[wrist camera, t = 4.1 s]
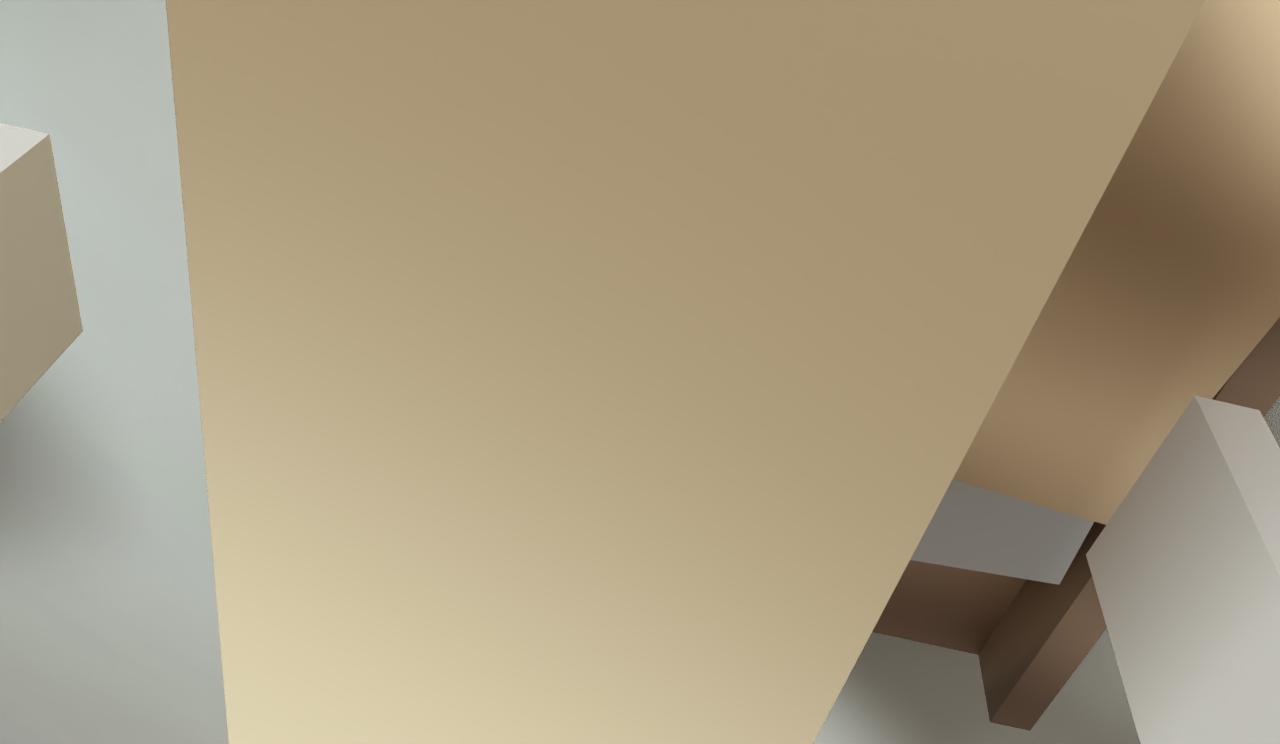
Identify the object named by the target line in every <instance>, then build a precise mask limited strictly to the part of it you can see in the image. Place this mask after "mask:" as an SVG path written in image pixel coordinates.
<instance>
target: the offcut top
mask: <svg viewBox="0 0 1280 744" xmlns="http://www.w3.org/2000/svg"><path fill="white" fill-rule="evenodd" d="M1279 317H1280V0H1205V2H1204V4H1203V6H1202V8H1201V9H1200V11H1199V13H1198V15H1197V17H1196V19H1195V21H1194V23H1193V25H1192V26H1191V28H1190V30H1189V32H1188V34H1187V36H1186V38H1185V40H1184V42H1183V44H1182V45H1181V47H1180V49H1179V51H1178V53H1177V55H1176V57H1175V59H1174V61H1173V63H1172V64H1171V66H1170V68H1169V70H1168V72H1167V74H1166V76H1165V78H1164V80H1163V81H1162V83H1161V85H1160V87H1159V89H1158V91H1157V93H1156V95H1155V97H1154V99H1153V100H1152V102H1151V104H1150V106H1149V108H1148V110H1147V112H1146V114H1145V116H1144V117H1143V119H1142V121H1141V123H1140V125H1139V127H1138V129H1137V131H1136V133H1135V135H1134V136H1133V138H1132V140H1131V142H1130V144H1129V146H1128V148H1127V150H1126V152H1125V153H1124V155H1123V157H1122V159H1121V161H1120V163H1119V165H1118V167H1117V169H1116V171H1115V172H1114V174H1113V176H1112V178H1111V180H1110V182H1109V184H1108V186H1107V188H1106V189H1105V191H1104V193H1103V195H1102V197H1101V199H1100V201H1099V203H1098V205H1097V207H1096V208H1095V210H1094V212H1093V214H1092V216H1091V218H1090V220H1089V222H1088V224H1087V225H1086V227H1085V229H1084V231H1083V233H1082V235H1081V237H1080V239H1079V241H1078V243H1077V244H1076V246H1075V248H1074V250H1073V252H1072V254H1071V256H1070V258H1069V260H1068V261H1067V263H1066V265H1065V267H1064V269H1063V271H1062V273H1061V275H1060V277H1059V279H1058V280H1057V282H1056V284H1055V286H1054V288H1053V290H1052V292H1051V294H1050V296H1049V297H1048V299H1047V301H1046V303H1045V305H1044V307H1043V309H1042V311H1041V313H1040V315H1039V316H1038V318H1037V320H1036V322H1035V324H1034V326H1033V328H1032V330H1031V332H1030V334H1029V335H1028V337H1027V339H1026V341H1025V343H1024V345H1023V347H1022V349H1021V351H1020V352H1019V354H1018V356H1017V358H1016V360H1015V362H1014V364H1013V366H1012V368H1011V370H1010V371H1009V373H1008V375H1007V377H1006V379H1005V381H1004V383H1003V385H1002V387H1001V388H1000V390H999V392H998V394H997V396H996V398H995V400H994V402H993V404H992V406H991V407H990V409H989V411H988V413H987V415H986V417H985V419H984V421H983V423H982V424H981V426H980V428H979V430H978V432H977V434H976V436H975V438H974V440H973V442H972V443H971V445H970V447H969V449H968V451H967V453H966V455H965V457H964V459H963V460H962V462H961V464H960V466H959V468H958V470H957V472H956V474H955V476H954V478H953V479H952V480H956V481H959V482H962V483H966V484H969V485H972V486H976V487H979V488H983V489H986V490H989V491H993V492H996V493H1000V494H1003V495H1006V496H1010V497H1013V498H1017V499H1020V500H1023V501H1027V502H1030V503H1034V504H1037V505H1040V506H1044V507H1047V508H1051V509H1054V510H1057V511H1061V512H1064V513H1068V514H1071V515H1074V516H1078V517H1081V518H1085V519H1088V520H1091V521H1095V522H1098V523H1101V524H1105V525H1107V523H1108V522H1109V520H1110V519H1111V517H1112V516H1113V514H1114V513H1115V512H1116V510H1117V509H1118V507H1119V506H1120V504H1121V503H1122V501H1123V500H1124V498H1125V497H1126V495H1127V494H1128V492H1129V491H1130V490H1131V488H1132V487H1133V485H1134V484H1135V482H1136V481H1137V479H1138V478H1139V476H1140V475H1141V473H1142V472H1143V471H1144V469H1145V468H1146V466H1147V465H1148V463H1149V462H1150V460H1151V459H1152V457H1153V456H1154V454H1155V453H1156V452H1157V450H1158V449H1159V447H1160V446H1161V444H1162V443H1163V441H1164V440H1165V438H1166V437H1167V435H1168V434H1169V433H1170V431H1171V430H1172V428H1173V427H1174V425H1175V424H1176V422H1177V421H1178V419H1179V418H1180V416H1181V415H1182V413H1183V412H1184V411H1185V409H1186V408H1187V406H1188V405H1189V403H1190V402H1191V400H1192V399H1193V397H1194V396H1199V397H1204V398H1208V399H1212V398H1213V397H1214V396H1215V395H1216V394H1217V392H1218V391H1219V390H1220V389H1221V388H1222V386H1223V385H1224V384H1225V383H1226V382H1227V380H1228V379H1229V378H1230V377H1231V375H1232V374H1233V373H1234V372H1235V371H1236V369H1237V368H1238V367H1239V366H1240V365H1241V363H1242V362H1243V361H1244V360H1245V359H1246V357H1247V356H1248V355H1249V354H1250V353H1251V351H1252V350H1253V349H1254V348H1255V346H1256V345H1257V344H1258V343H1259V342H1260V340H1261V339H1262V338H1263V337H1264V336H1265V334H1266V333H1267V332H1268V331H1269V330H1270V328H1271V327H1272V326H1273V325H1274V324H1275V322H1276V321H1277V320H1278V319H1279Z"/></svg>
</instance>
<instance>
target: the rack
mask: <svg viewBox="0 0 1280 744" xmlns="http://www.w3.org/2000/svg"><path fill="white" fill-rule="evenodd" d="M1279 395H1280V317H1279V319H1278V320H1277V321H1276V322H1275V324H1274V325H1273V326H1272V327H1271V328H1270V330H1269V331H1268V332H1267V333H1266V334H1265V336H1264V337H1263V338H1262V339H1261V340H1260V342H1259V343H1258V344H1257V345H1256V346H1255V348H1254V349H1253V350H1252V351H1251V353H1250V354H1249V355H1248V356H1247V357H1246V359H1245V360H1244V361H1243V362H1242V363H1241V365H1240V366H1239V367H1238V368H1237V369H1236V371H1235V372H1234V373H1233V374H1232V375H1231V377H1230V378H1229V379H1228V380H1227V382H1226V383H1225V384H1224V385H1223V386H1222V388H1221V389H1220V390H1219V391H1218V392H1217V394H1216V395H1215V396H1214V397H1213V398H1212V399H1213V400H1217V401H1221V402H1226V403H1230V404H1235V405H1239V406H1243V407H1248V408H1252V409H1256V410H1260V412H1261V414H1262V416H1263V417H1264V416H1265V414H1266V413H1267V412H1268V410H1269V409H1270V408H1271V406H1272V405H1273V404H1274V402H1275V401H1276V399H1277V398H1278V397H1279ZM1105 526H1106V525H1105V524H1101V523H1098V522H1095V521H1094V523H1093V525H1092V527H1091V529H1090V530H1089V532H1088V534H1087V536H1086V538H1085V539H1084V541H1083V543H1082V545H1081V547H1080V548H1079V550H1078V552H1077V554H1076V556H1075V557H1074V559H1073V561H1072V563H1071V565H1070V566H1069V568H1068V570H1067V572H1066V574H1065V575H1064V577H1063V579H1062V581H1061V583H1060V584H1059V585H1058V584H1052V583H1046V582H1040V581H1034V580H1028V579H1022V578H1016V577H1010V576H1004V575H998V574H992V573H986V572H980V571H974V570H968V569H962V568H956V567H950V566H944V565H938V564H932V563H926V562H920V561H914V560H910V561H909V563H908V565H907V567H906V568H905V570H904V572H903V574H902V576H901V578H900V580H899V582H898V584H897V586H896V587H895V589H894V591H893V593H892V595H891V597H890V599H889V601H888V603H887V604H886V606H885V608H884V610H883V612H882V614H881V616H880V618H879V620H878V622H877V623H876V625H875V627H874V629H873V631H872V632H876V633H881V634H886V635H890V636H895V637H899V638H904V639H909V640H913V641H918V642H923V643H927V644H932V645H937V646H941V647H946V648H950V649H955V650H960V651H964V652H969V653H974V654H978V655H979V660H980V666H981V672H982V678H983V684H984V689H985V695H986V701H987V707H988V712H989V718H990V722H993V723H998V724H1002V725H1007V726H1012V727H1016V728H1021V729H1026V730H1031V728H1032V727H1033V726H1034V724H1035V723H1036V722H1037V720H1038V719H1039V718H1040V716H1041V715H1042V714H1043V712H1044V711H1045V710H1046V708H1047V707H1048V706H1049V704H1050V703H1051V702H1052V700H1053V699H1054V698H1055V696H1056V695H1057V694H1058V692H1059V691H1060V689H1061V688H1062V687H1063V685H1064V684H1065V683H1066V681H1067V680H1068V679H1069V677H1070V676H1071V675H1072V673H1073V672H1074V671H1075V669H1076V668H1077V667H1078V665H1079V664H1080V663H1081V661H1082V660H1083V659H1084V657H1085V656H1086V655H1087V653H1088V652H1089V651H1090V649H1091V648H1092V647H1093V645H1094V644H1095V642H1096V641H1097V640H1098V638H1099V637H1100V636H1101V634H1102V633H1103V632H1104V630H1105V629H1106V628H1107V626H1106V623H1105V619H1104V616H1103V612H1102V609H1101V605H1100V602H1099V599H1098V595H1097V592H1096V588H1095V585H1094V581H1093V578H1092V574H1091V571H1090V567H1089V564H1088V560H1087V557H1086V554H1087V552H1088V551H1089V550H1090V548H1091V547H1092V545H1093V544H1094V542H1095V541H1096V539H1097V538H1098V536H1099V535H1100V533H1101V532H1102V531H1103V529H1104V528H1105Z"/></svg>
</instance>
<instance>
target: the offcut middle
mask: <svg viewBox="0 0 1280 744" xmlns="http://www.w3.org/2000/svg"><path fill="white" fill-rule="evenodd" d="M1093 523H1094V521H1091V520H1088V519H1085V518H1081V517H1078V516H1074V515H1071V514H1068V513H1064V512H1061V511H1057V510H1054V509H1051V508H1047V507H1044V506H1040V505H1037V504H1034V503H1030V502H1027V501H1023V500H1020V499H1017V498H1013V497H1010V496H1006V495H1003V494H1000V493H996V492H993V491H989V490H986V489H983V488H979V487H976V486H972V485H969V484H966V483H962V482H959V481H956V480H952V481H951V483H950V485H949V487H948V489H947V491H946V493H945V495H944V496H943V498H942V500H941V502H940V504H939V506H938V508H937V510H936V512H935V514H934V515H933V517H932V519H931V521H930V523H929V525H928V527H927V529H926V531H925V532H924V534H923V536H922V538H921V540H920V542H919V544H918V546H917V548H916V550H915V551H914V553H913V555H912V557H911V559H910V560H914V561H920V562H926V563H932V564H938V565H944V566H950V567H956V568H962V569H968V570H974V571H980V572H986V573H992V574H998V575H1004V576H1010V577H1016V578H1022V579H1028V580H1034V581H1040V582H1046V583H1052V584H1058V585H1059V584H1060V583H1061V581H1062V579H1063V577H1064V575H1065V574H1066V572H1067V570H1068V568H1069V566H1070V565H1071V563H1072V561H1073V559H1074V557H1075V556H1076V554H1077V552H1078V550H1079V548H1080V547H1081V545H1082V543H1083V541H1084V539H1085V538H1086V536H1087V534H1088V532H1089V530H1090V529H1091V527H1092V525H1093Z"/></svg>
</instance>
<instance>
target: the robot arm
mask: <svg viewBox="0 0 1280 744" xmlns="http://www.w3.org/2000/svg"><path fill="white" fill-rule="evenodd" d="M82 331H83V330H82V324H81V318H80V312H79V306H78V301H77V295H76V289H75V283H74V277H73V271H72V265H71V259H70V253H69V247H68V241H67V236H66V230H65V224H64V218H63V212H62V206H61V200H60V194H59V188H58V182H57V177H56V171H55V165H54V159H53V153H52V147H51V141H50V135H49V134H47V133H42V132H38V131H34V130H29V129H25V128H21V127H16V126H12V125H7V124H3V123H0V422H1V421H2V420H3V418H4V417H5V416H6V415H7V414H8V413H9V412H10V411H11V410H12V409H13V407H14V406H15V405H16V404H17V403H18V402H19V401H20V400H21V399H22V398H23V396H24V395H25V394H26V393H27V392H28V391H29V390H30V389H31V388H32V386H33V385H34V384H35V383H36V382H37V381H38V380H39V379H40V378H41V377H42V375H43V374H44V373H45V372H46V371H47V370H48V369H49V368H50V367H51V366H52V364H53V363H54V362H55V361H56V360H57V359H58V358H59V357H60V356H61V354H62V353H63V352H64V351H65V350H66V349H67V348H68V347H69V346H70V345H71V343H72V342H73V341H74V340H75V339H76V338H77V337H78V336H79V335H80V334H81V332H82ZM1086 557H1087V560H1088V564H1089V567H1090V571H1091V574H1092V578H1093V581H1094V585H1095V588H1096V592H1097V595H1098V599H1099V602H1100V605H1101V609H1102V612H1103V616H1104V619H1105V623H1106V626H1107V630H1108V633H1109V637H1110V640H1111V644H1112V647H1113V650H1114V654H1115V657H1116V661H1117V664H1118V668H1119V671H1120V675H1121V678H1122V682H1123V685H1124V689H1125V692H1126V696H1127V699H1128V702H1129V706H1130V709H1131V713H1132V716H1133V720H1134V723H1135V727H1136V730H1137V734H1138V737H1139V741H1140V744H1280V447H1279V446H1278V444H1277V442H1276V440H1275V438H1274V436H1273V434H1272V433H1271V431H1270V429H1269V427H1268V425H1267V423H1266V421H1265V420H1264V418H1263V416H1262V414H1261V412H1260V410H1256V409H1252V408H1248V407H1243V406H1239V405H1235V404H1230V403H1226V402H1221V401H1217V400H1213V399H1208V398H1204V397H1199V396H1194V397H1193V399H1192V400H1191V402H1190V403H1189V405H1188V406H1187V408H1186V409H1185V411H1184V412H1183V413H1182V415H1181V416H1180V418H1179V419H1178V421H1177V422H1176V424H1175V425H1174V427H1173V428H1172V430H1171V431H1170V433H1169V434H1168V435H1167V437H1166V438H1165V440H1164V441H1163V443H1162V444H1161V446H1160V447H1159V449H1158V450H1157V452H1156V453H1155V454H1154V456H1153V457H1152V459H1151V460H1150V462H1149V463H1148V465H1147V466H1146V468H1145V469H1144V471H1143V472H1142V473H1141V475H1140V476H1139V478H1138V479H1137V481H1136V482H1135V484H1134V485H1133V487H1132V488H1131V490H1130V491H1129V492H1128V494H1127V495H1126V497H1125V498H1124V500H1123V501H1122V503H1121V504H1120V506H1119V507H1118V509H1117V510H1116V512H1115V513H1114V514H1113V516H1112V517H1111V519H1110V520H1109V522H1108V523H1107V525H1106V526H1105V528H1104V529H1103V531H1102V532H1101V533H1100V535H1099V536H1098V538H1097V539H1096V541H1095V542H1094V544H1093V545H1092V547H1091V548H1090V550H1089V551H1088V552H1087V554H1086Z"/></svg>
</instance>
